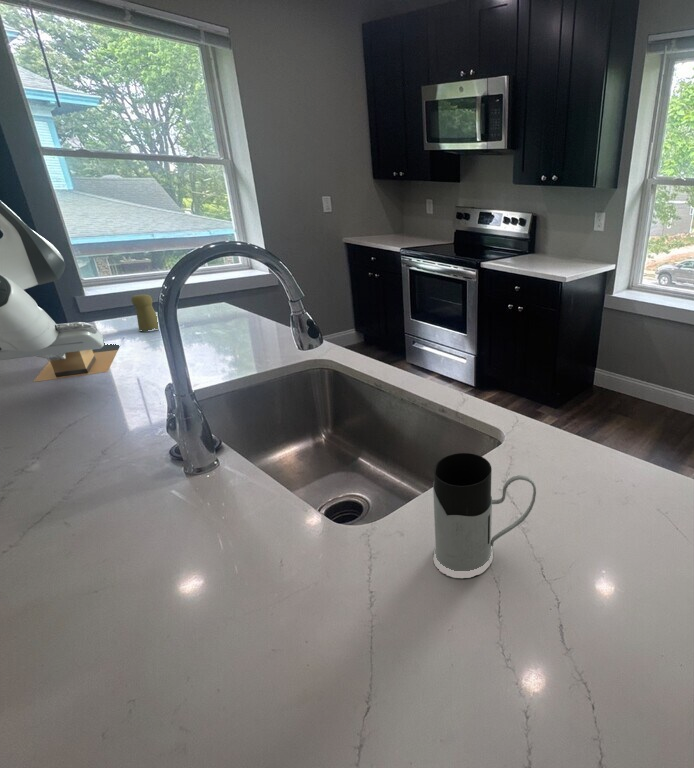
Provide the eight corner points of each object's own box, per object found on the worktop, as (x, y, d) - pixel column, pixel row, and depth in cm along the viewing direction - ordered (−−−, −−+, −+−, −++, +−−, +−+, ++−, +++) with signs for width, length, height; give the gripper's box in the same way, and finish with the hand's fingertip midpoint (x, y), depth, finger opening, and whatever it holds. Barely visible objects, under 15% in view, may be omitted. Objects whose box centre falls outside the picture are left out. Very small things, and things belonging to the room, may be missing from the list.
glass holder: (435, 533, 71) (432, 450, 64) (528, 532, 72) (534, 450, 65) (429, 579, 63) (425, 490, 56) (534, 578, 64) (541, 489, 57)
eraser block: (56, 377, 114) (44, 348, 111) (66, 362, 122) (55, 335, 118) (88, 373, 117) (77, 344, 113) (96, 359, 124) (86, 332, 121)
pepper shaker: (134, 331, 145) (122, 296, 141) (150, 325, 151) (140, 291, 146) (151, 333, 145) (140, 298, 140) (167, 327, 150) (157, 293, 145)
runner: (33, 382, 111) (33, 381, 111) (63, 344, 134) (63, 343, 134) (107, 372, 118) (107, 371, 118) (124, 337, 140) (124, 336, 140)
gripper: (90, 310, 102) (112, 338, 114) (-42, 321, 93) (-3, 351, 104) (93, 335, 101) (115, 361, 112) (-41, 350, 91) (-2, 377, 103)
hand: (57, 357), depth 108 cm, fingers closed
